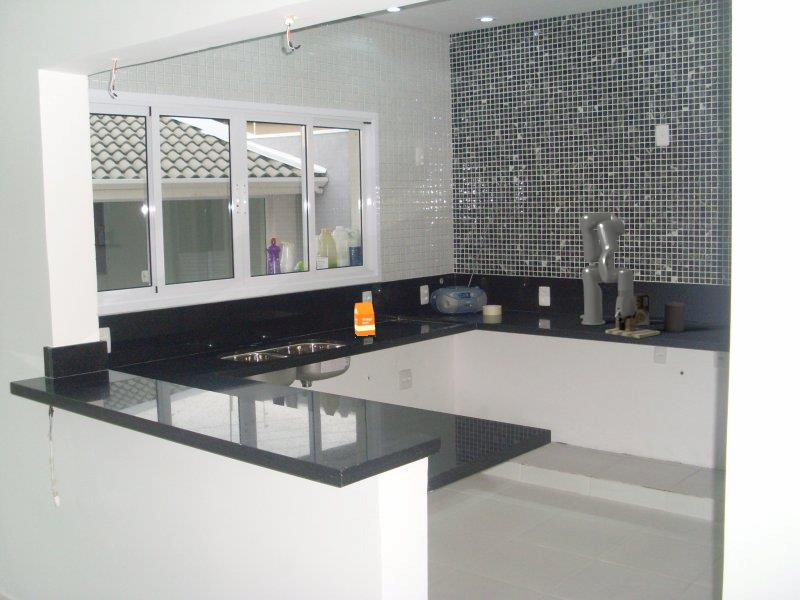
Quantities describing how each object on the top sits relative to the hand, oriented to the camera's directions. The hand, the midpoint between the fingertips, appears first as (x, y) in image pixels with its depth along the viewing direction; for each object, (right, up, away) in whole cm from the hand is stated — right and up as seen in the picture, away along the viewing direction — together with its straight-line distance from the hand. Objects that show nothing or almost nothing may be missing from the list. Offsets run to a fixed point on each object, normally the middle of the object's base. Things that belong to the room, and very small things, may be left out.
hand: (626, 329), depth 440 cm
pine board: (+2, -2, -3) cm, 5 cm away
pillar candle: (+25, -1, +1) cm, 25 cm away
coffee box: (+13, +2, +23) cm, 27 cm away
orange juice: (-132, -7, +12) cm, 133 cm away
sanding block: (0, 0, 0) cm, 0 cm away
